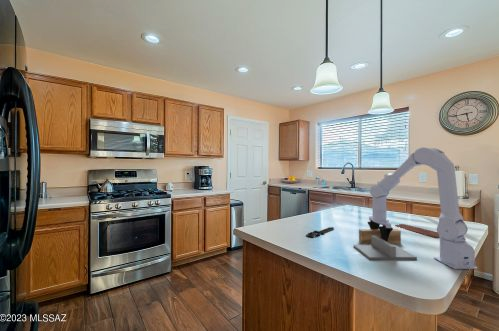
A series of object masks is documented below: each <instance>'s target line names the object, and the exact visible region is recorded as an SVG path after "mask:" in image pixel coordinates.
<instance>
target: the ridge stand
mask: <svg viewBox="0 0 499 331" xmlns="http://www.w3.org/2000/svg"><path fill="white" fill-rule="evenodd" d="M353 248H355V250H357V251H358V252H359V253H360V254H362V255H363V256H364V257H366V258H367V259H368V260H369V261H388V260H389V261H394V260H395V261H401V260H402V261H404V260H405V261H408V260H409V261H411V260H413V261H414V260H415V261H416V260H417V261H418V256H416V255H414V254H412V253H410V252H409V251H406V250H405V249H403V248H401V247H399V246H397V245H396V244H395V243H388V242H386V241H385V240H383V239H381V238H379V237H377V236H371V243H370V244H353Z"/></svg>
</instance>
